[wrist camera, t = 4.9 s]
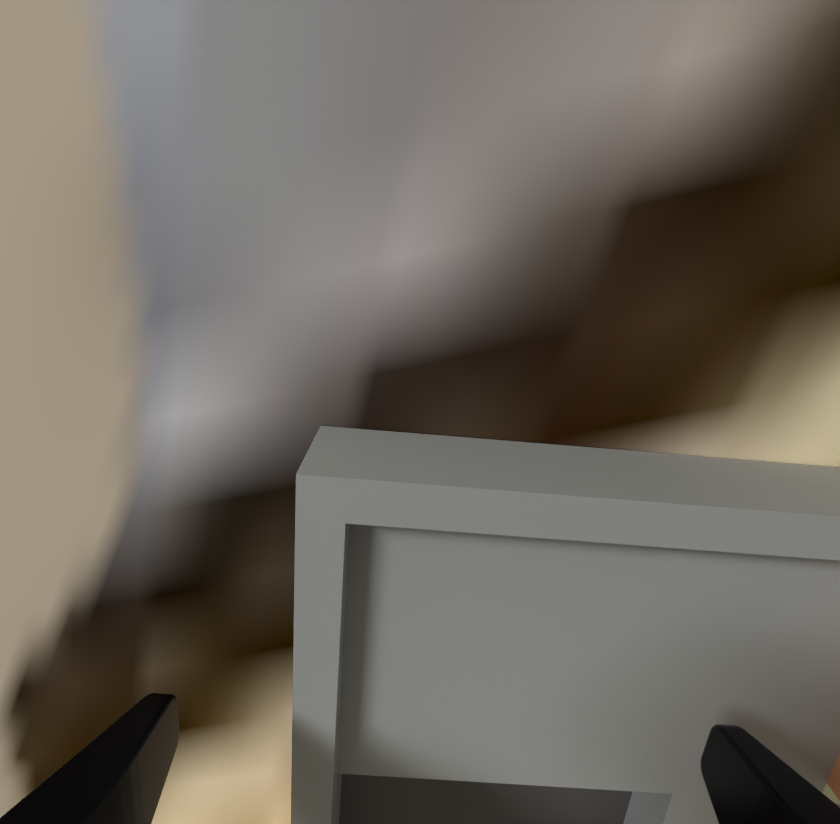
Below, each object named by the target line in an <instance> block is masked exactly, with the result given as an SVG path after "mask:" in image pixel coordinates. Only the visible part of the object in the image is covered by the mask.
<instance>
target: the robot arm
mask: <svg viewBox="0 0 840 824" xmlns="http://www.w3.org/2000/svg"><path fill="white" fill-rule="evenodd" d="M178 739H179V721H178V708H177V699H176V697H175V696H174V695H172V694H159V693H152V694H149V695H147V696H145V697H144V698H143V699H142V700H140V701H139V702H138V703H137V704H136V705H135V706H133V707H132V708H131V709H130V710H129V711H127V712H126V713H125V714H124V715H123V716H121V717H120V718H119V719H118V720H117V721H115V722H114V723H113V724H112V725H111V726H109V727H108V728H107V729H106V730H105V731H103V732H102V733H101V734H100V735H99V736H98V737H96V738H95V739H94V740H93V741H92V742H90V743H89V744H88V745H87V746H86V747H84V748H83V749H82V750H81V751H80V752H78V753H77V754H76V755H75V756H74V757H72V758H71V759H70V760H69V761H68V762H66V763H65V764H64V765H63V766H62V767H61V768H59V769H58V770H57V771H56V772H55V773H53V774H52V775H51V776H50V777H49V778H47V779H46V780H45V781H44V782H43V783H41V784H40V785H39V786H38V787H37V788H35V789H34V790H33V791H32V792H31V793H29V794H28V795H27V796H26V797H25V798H24V799H22V800H21V801H20V802H19V803H18V804H16V805H15V806H14V807H13V808H12V809H10V810H9V811H8V812H7V813H6V814H5V815H3V816H2V817H1V818H0V824H151V822H152V819H153V816H154V814H155V811H156V808H157V805H158V802H159V799H160V796H161V793H162V790H163V787H164V784H165V781H166V778H167V775H168V772H169V769H170V766H171V763H172V760H173V757H174V754H175V751H176V748H177V744H178ZM701 772H702V776H703V779H704V782H705V785H706V788H707V791H708V793H709V796H710V799H711V802H712V805H713V808H714V811H715V814H716V817H717V820H718V822H719V824H840V807H839V806H838V805H837V804H835V803H834V802H833V801H832V800H830V799H829V798H828V797H827V796H826V795H824V794H823V793H822V792H821V791H819V790H818V789H817V788H816V787H814V786H813V785H812V784H811V783H810V782H808V781H807V780H806V779H805V778H803V777H802V776H801V775H800V774H798V773H797V772H796V771H795V770H794V769H792V768H791V767H790V766H789V765H787V764H786V763H785V762H784V761H783V760H781V759H780V758H779V757H778V756H776V755H775V754H774V753H773V752H771V751H770V750H769V749H768V748H767V747H765V746H764V745H763V744H762V743H760V742H759V741H758V740H757V739H755V738H754V737H753V736H752V735H751V734H749V733H748V732H747V731H746V730H744V729H743V728H741V727H739V726H736V725H724V724H716V725H714V726H713V727H712V728H711V730H710V733H709V736H708V739H707V742H706V745H705V748H704V751H703V754H702V757H701Z"/></svg>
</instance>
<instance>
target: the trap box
mask: <svg viewBox="0 0 840 824" xmlns="http://www.w3.org/2000/svg"><path fill="white" fill-rule="evenodd" d="M716 724H724V725H736V726H739V727H741V728H743V729H744V730H746V731H747V732H748V733H749V734H751V735H752V736H753V737H754V738H755V739H757V740H758V741H759V742H760V743H762V744H763V745H764V746H765V747H767V748H768V749H769V750H770V751H771V752H773V753H774V754H775V755H776V756H778V757H779V758H780V759H781V760H783V761H784V762H785V763H786V764H787V765H789V766H790V767H791V768H792V769H794V770H795V771H796V772H797V773H798V774H800V775H801V776H802V777H803V778H805V779H806V780H807V781H808V782H810V783H811V784H812V785H813V786H814V787H816V788H817V789H818V790H819V791H821V792H822V793H823V794H824V795H826V796H827V797H828V798H829V799H830V800H832V801H833V802H834V803H835V804H837V805H838V806H839V807H840V801H839V799H838V798H837V797H836V795H835V794H834V793H833V791H832V790H831V788H830V787H829V786H828V784H827V780H828V778H829V776H830V774H831V771H832V769H833V767H834V765H835V763H836V760H837V758H838V756H839V754H840V468H839V467H827V466H814V465H802V464H789V463H777V462H764V461H752V460H740V459H727V458H715V457H702V456H690V455H677V454H665V453H652V452H640V451H628V450H615V449H603V448H590V447H578V446H565V445H553V444H540V443H528V442H516V441H503V440H491V439H478V438H466V437H453V436H441V435H428V434H416V433H404V432H391V431H379V430H366V429H354V428H341V427H329V426H320V428H319V430H318V432H317V434H316V436H315V438H314V440H313V442H312V444H311V446H310V448H309V450H308V452H307V454H306V456H305V458H304V460H303V462H302V464H301V466H300V468H299V470H298V471H297V473H296V511H295V581H294V650H293V720H292V789H291V824H719V822H718V820H717V817H716V814H715V811H714V808H713V805H712V802H711V799H710V796H709V793H708V791H707V788H706V785H705V782H704V779H703V776H702V772H701V757H702V754H703V751H704V748H705V745H706V742H707V739H708V736H709V733H710V730H711V728H712V727H713V726H714V725H716Z"/></svg>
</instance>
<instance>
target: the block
mask: <svg viewBox="0 0 840 824" xmlns="http://www.w3.org/2000/svg"><path fill="white" fill-rule="evenodd" d="M827 784H828V786H829V787H830V788H831V790H832V791H833V793H834V794H835V795H836V797H837V798H838V799H839V801H840V754H839V756H838V758H837V760H836V763H835V765H834V767H833V769H832V771H831V774H830V776H829V778H828V780H827Z"/></svg>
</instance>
